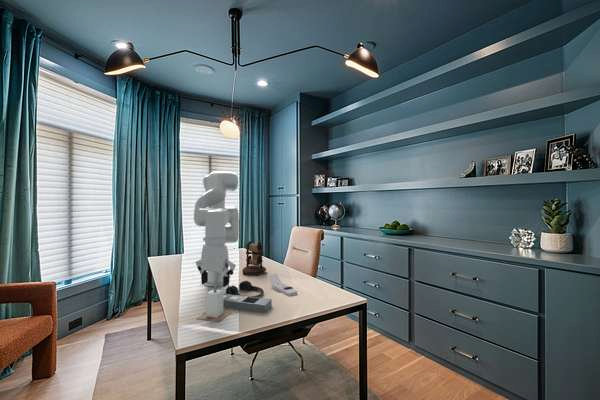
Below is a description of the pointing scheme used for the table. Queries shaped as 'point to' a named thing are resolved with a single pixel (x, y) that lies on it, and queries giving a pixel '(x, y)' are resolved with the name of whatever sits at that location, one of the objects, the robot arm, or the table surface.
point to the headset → (244, 286)
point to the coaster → (214, 319)
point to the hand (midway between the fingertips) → (215, 284)
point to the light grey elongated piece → (281, 285)
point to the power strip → (246, 303)
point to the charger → (214, 303)
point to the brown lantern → (254, 259)
